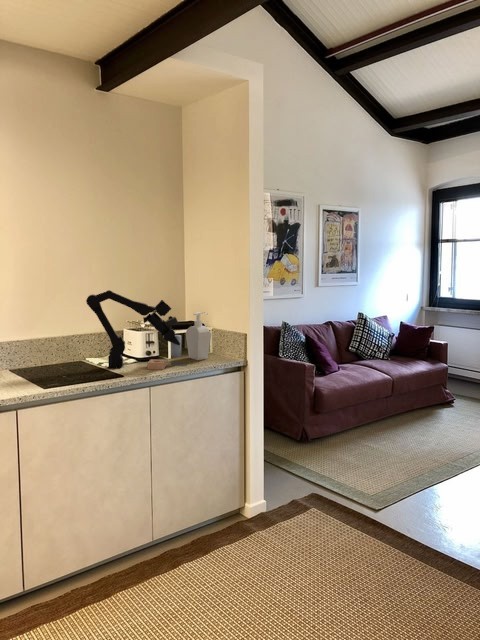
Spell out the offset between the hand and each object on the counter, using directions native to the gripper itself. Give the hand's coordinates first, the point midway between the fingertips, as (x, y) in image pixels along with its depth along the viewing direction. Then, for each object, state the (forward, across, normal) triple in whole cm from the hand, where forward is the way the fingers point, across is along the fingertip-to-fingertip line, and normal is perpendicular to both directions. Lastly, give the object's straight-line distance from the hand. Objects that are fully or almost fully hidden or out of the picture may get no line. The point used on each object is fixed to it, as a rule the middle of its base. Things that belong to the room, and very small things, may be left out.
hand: (178, 343), depth 271 cm
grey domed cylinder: (+3, 0, +5) cm, 6 cm away
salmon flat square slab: (0, -5, +16) cm, 17 cm away
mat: (+8, 0, +8) cm, 11 cm away
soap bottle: (+17, +15, -1) cm, 23 cm away
